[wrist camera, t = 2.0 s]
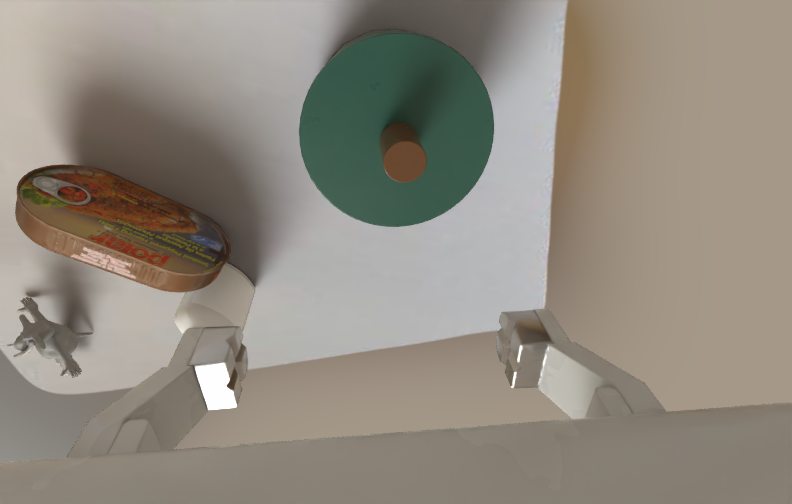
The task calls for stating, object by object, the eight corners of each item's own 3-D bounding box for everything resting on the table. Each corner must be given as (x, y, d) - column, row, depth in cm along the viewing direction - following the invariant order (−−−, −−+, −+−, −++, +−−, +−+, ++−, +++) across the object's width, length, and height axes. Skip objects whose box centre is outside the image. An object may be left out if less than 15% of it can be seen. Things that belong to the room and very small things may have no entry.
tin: (240, 230, 40) (217, 284, 33) (227, 255, 41) (203, 312, 34) (61, 149, 35) (-13, 192, 28) (52, 181, 36) (-21, 230, 29)
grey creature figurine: (11, 344, 45) (-24, 301, 38) (76, 314, 48) (53, 269, 42) (60, 419, 42) (31, 386, 35) (124, 381, 46) (108, 345, 39)
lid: (289, 30, 26) (277, 40, 21) (501, 30, 27) (531, 40, 23) (310, 222, 33) (304, 260, 28) (478, 216, 34) (498, 251, 29)
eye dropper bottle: (237, 250, 41) (201, 337, 31) (260, 295, 44) (233, 388, 34) (193, 260, 41) (143, 351, 31) (219, 304, 44) (181, 400, 34)
